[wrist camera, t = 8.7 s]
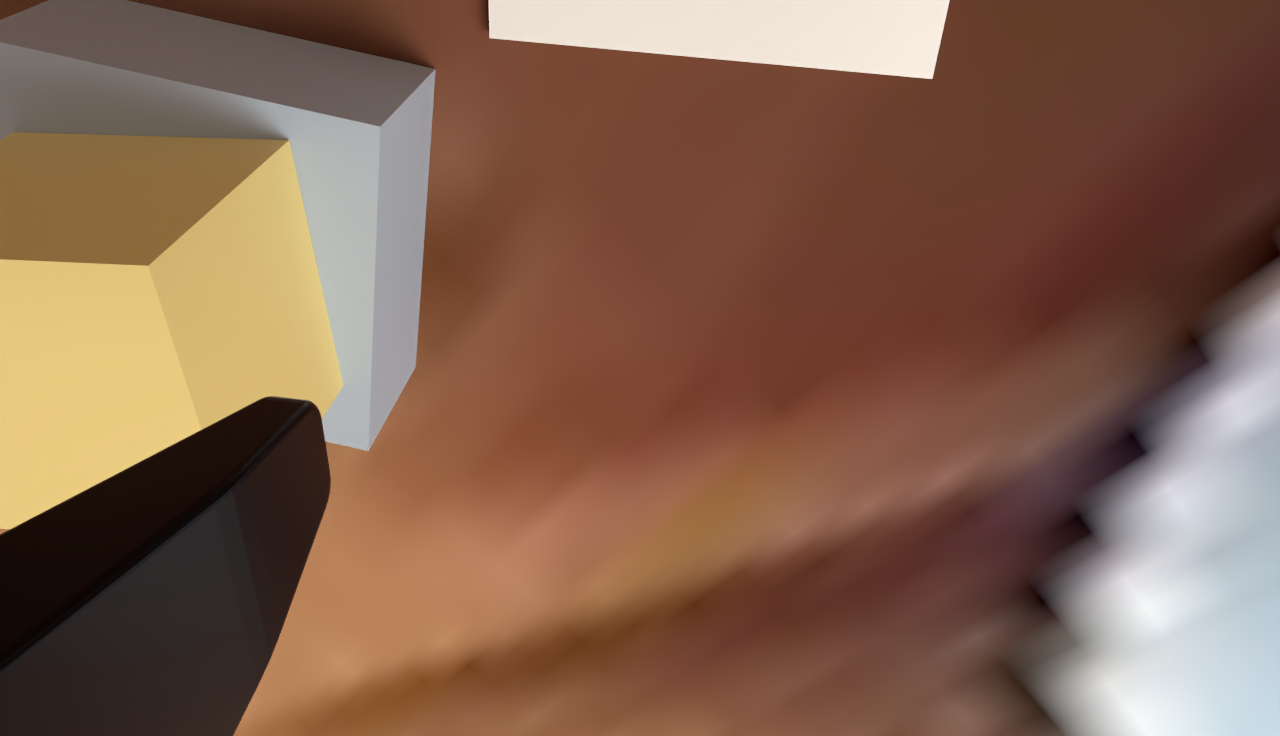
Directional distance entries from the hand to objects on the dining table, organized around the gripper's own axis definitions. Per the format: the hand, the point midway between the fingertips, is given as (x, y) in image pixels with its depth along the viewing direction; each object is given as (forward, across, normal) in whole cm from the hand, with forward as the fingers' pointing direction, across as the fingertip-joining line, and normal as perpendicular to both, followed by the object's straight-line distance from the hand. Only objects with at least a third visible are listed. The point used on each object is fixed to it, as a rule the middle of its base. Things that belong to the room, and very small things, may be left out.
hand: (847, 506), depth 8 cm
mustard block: (+9, +11, +4) cm, 15 cm away
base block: (+12, +11, +4) cm, 17 cm away
